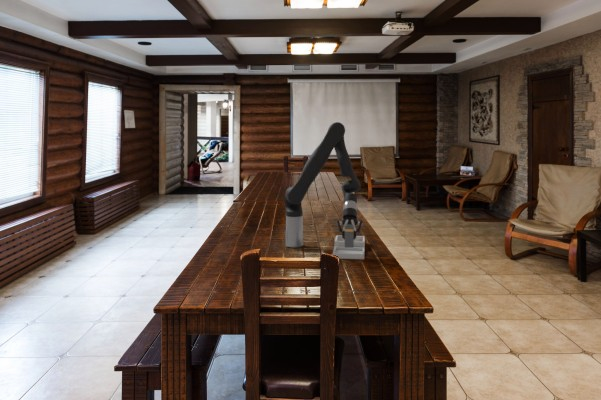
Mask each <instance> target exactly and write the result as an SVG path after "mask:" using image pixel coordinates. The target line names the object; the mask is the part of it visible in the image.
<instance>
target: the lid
mask: <svg viewBox="0 0 601 400" xmlns="http://www.w3.org/2000/svg"><path fill="white" fill-rule="evenodd" d="M333 255H336V256H338V257H339V258H338V259H339V260H340V259H343V260H344V259H345V260H347V259H348V260H365V248H364V247H353V248H350V247H335V246H334V247H333V249H332V256H333Z"/></svg>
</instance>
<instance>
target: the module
mask: <svg viewBox="0 0 601 400" xmlns="http://www.w3.org/2000/svg"><path fill="white" fill-rule="evenodd" d="M353 237H354V225H351V224H347V225H345V247H350V248H353V247H354V238H353Z"/></svg>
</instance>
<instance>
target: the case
mask: <svg viewBox="0 0 601 400" xmlns="http://www.w3.org/2000/svg"><path fill="white" fill-rule="evenodd" d="M365 237H366V236H365V235H356V239H355V240H354V247H364V249H365V240H366V239H365ZM334 247H345V239H344V238H342V235H335V238H334Z"/></svg>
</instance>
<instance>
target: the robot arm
mask: <svg viewBox="0 0 601 400" xmlns="http://www.w3.org/2000/svg"><path fill="white" fill-rule="evenodd" d="M345 133H346V127H345V126H344V124H343V123H341V122H338V121H337V122H332V123H331V124H330V125H329V127H328V129H327V132H326V134H325V135H324V137H323V139H322V141H321V142H320V143H319V144H318V146H317V147H316V148H315V149H314V150H313V152H312V153H311V154H310V156H309V157H308V159H307V160H306V162H305V164H304V166H303V168H302V172H301V174H300V176H299V178H298V180H297V181H296V182H295V184H294V185H293V186H290V187H288V188H287V189H286V191H285V194H284V204H285V205H284V207H285V208H284V209H285V222H286V223H285V228H286V229H285V233H284V234H285V247H287V248H288V247H289V248H301V247H303V246H304V245H303V243H304V242H303V241H304V239H303V238H304V237H303V235H304V233H303V232H304V231H303V229H304V227H303V226H304V222H303V220H304V219H303V215H304V214H303V208H302V207H303V206H302V202H303V200H304V199H305V197H306V194H307V192H308V190H309V189H310V187H311V185H312V184H313V182H314V181H315V179H316V178H317V177H318V175H319V174H320V172H321V171H322V169H323V168H324V166H325V165H326V163H327V161H328V159H329V157H330V156H331V154H332V151H333V150H334V151H335V156H336V159H337V162H338V167H339V171H340V175H341V177H343V178H349V179H350V180H346V181H344V182H342V183H341V187H340V188H341V191H342V194H343V206H342V207H343V209H342V218H341V220H336V225H337V229H338V232H339V233H341V236H342V238H344V239H345V225H347V224H351V225H354V237H353V238H354V240H355V239H356V236H357V234H358V233H360V232H361V230H362V227H363V224H364V223H363V220H361V221H359V219H358V195H357V194H356V193H357V192H359V191H361V189H362V185H361V182H360V180H359V179H358V177H357V175H356V173H355V171H354V167H353V165H352V161H351V158H350V155H349V153H348V150H347V148H346V147H347V146H346V143H345ZM357 224H358V227H357V228H356V226H357ZM342 225H343V227H342Z"/></svg>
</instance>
